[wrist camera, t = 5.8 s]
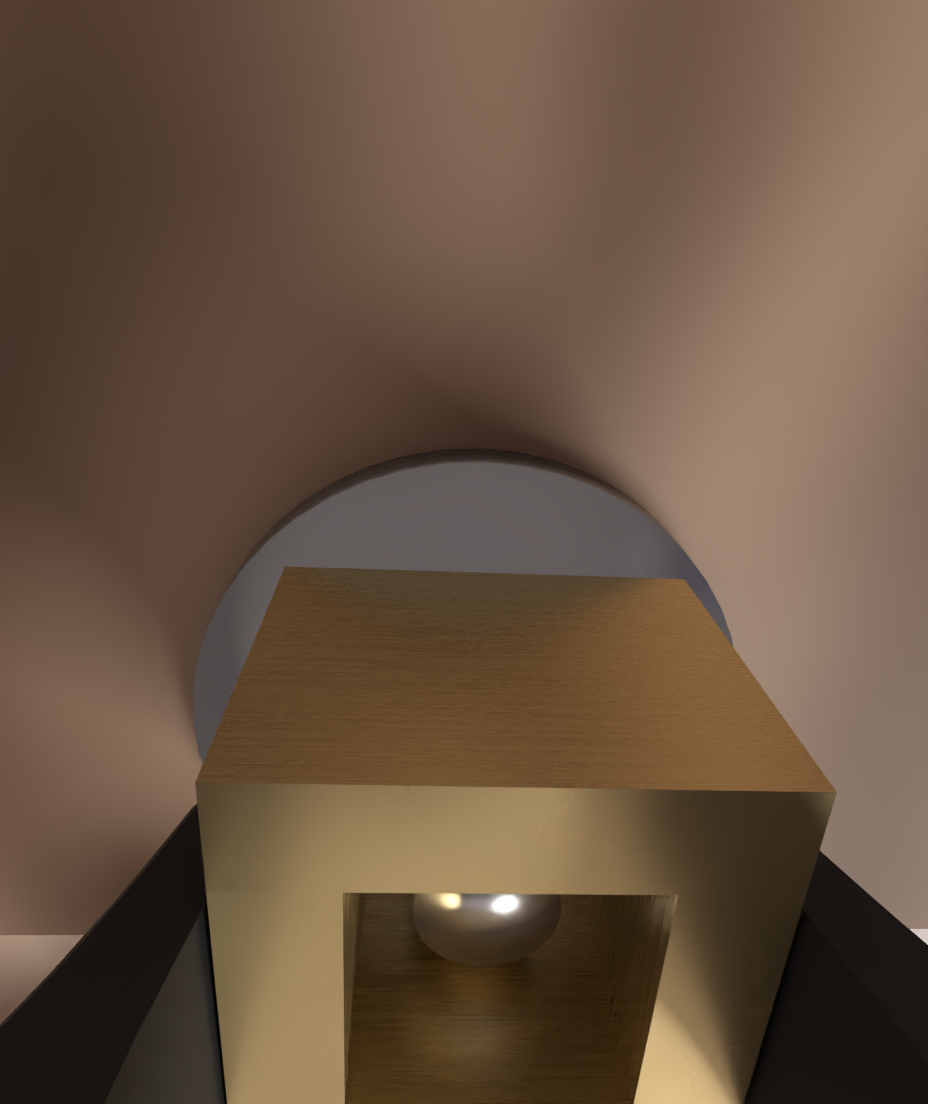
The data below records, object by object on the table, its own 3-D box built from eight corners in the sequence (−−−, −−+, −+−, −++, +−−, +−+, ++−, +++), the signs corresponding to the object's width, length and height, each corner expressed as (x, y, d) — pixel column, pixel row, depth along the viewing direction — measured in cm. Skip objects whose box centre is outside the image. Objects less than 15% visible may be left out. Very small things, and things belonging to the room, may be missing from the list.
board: (1515, -330, 9) (1591, -369, 8) (1008, 902, 15) (1030, 927, 15) (-428, -534, 7) (-497, -595, 7) (-44, 907, 14) (-63, 934, 14)
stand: (763, 457, 11) (949, 580, 7) (678, 888, 14) (776, 1141, 10) (184, 438, 10) (43, 561, 7) (225, 891, 14) (146, 1156, 10)
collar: (684, 578, 10) (837, 791, 6) (630, 878, 12) (722, 1176, 8) (284, 566, 10) (195, 782, 6) (297, 875, 12) (235, 1183, 8)
